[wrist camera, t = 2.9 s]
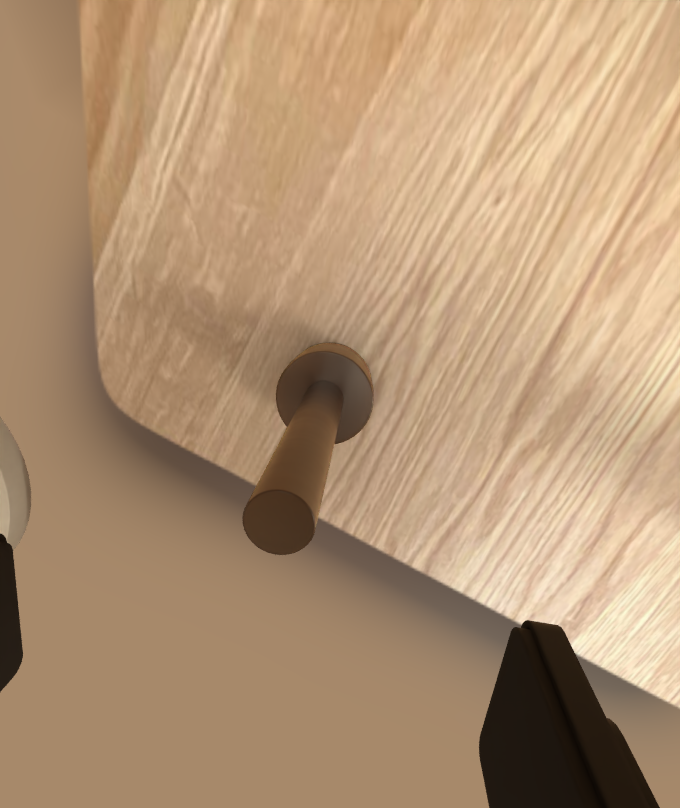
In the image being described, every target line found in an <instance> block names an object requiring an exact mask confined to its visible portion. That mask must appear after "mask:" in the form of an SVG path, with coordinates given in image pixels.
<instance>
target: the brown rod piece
mask: <svg viewBox="0 0 680 808" xmlns="http://www.w3.org/2000/svg"><path fill="white" fill-rule="evenodd" d="M276 404H277V408H278V412H279V414H280V417H281V418H282V420H283V422H284V423H285V425H286V426H287V429H286V431H285V433H284V435H283V437H282V438H281V440H280V442H279V444H278V446H277V448H276V450H275V452H274V454H273V455H272V457H271V459H270V461H269V463H268V465H267V467H266V469H265V471H264V473H263V474H262V476H261V478H260V480H259V482H258V484H257V486H256V488H255V490H254V492H253V493H252V495H251V497H250V499H249V501H248V503H247V505H246V507H245V509H244V512H243V526H244V530H245V532H246V534H247V536H248V538H249V539H250V540H251V541H252V542H253V543H254V544H255V545H256V546H257V547H258V548H260V549H262V550H264V551H266V552H268V553H272V554H278V555H286V554H292V553H295V552H297V551H299V550H301V549H302V548H304V547H305V546H306V545H307V544H308V543H309V542H310V541H311V539H312V538H313V535H314V533H315V529H316V524H317V520H318V515H319V511H320V506H321V502H322V497H323V493H324V488H325V484H326V479H327V475H328V470H329V466H330V461H331V457H332V452H333V448H334V444H338V443H341V442H344V441H346V440H349V439H350V438H352V437H354V436H355V435H356V434H358V433H359V432H360V431H361V430H362V429H363V427H364V426H365V425H366V423H367V421H368V420H369V418H370V415H371V412H372V408H373V385H372V379H371V374H370V371H369V369H368V366H367V364H366V363H365V361H364V360H363V359H362V358H361V356H360V355H359V354H357V353H356V352H355V351H354V350H352V349H351V348H349V347H347V346H344V345H341V344H337V343H321V344H317V345H314V346H312V347H310V348H308V349H306V350H305V351H303V352H302V353H301V354H300V355H299V356H297V357H296V358H295V359H294V360H293V361H292V362H291V363H290V364H289V365H288V366H287V368H286V369H285V370H284V372H283V373H282V375H281V377H280V379H279V381H278V385H277V390H276Z"/></svg>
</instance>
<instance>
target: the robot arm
mask: <svg viewBox="0 0 680 808" xmlns="http://www.w3.org/2000/svg"><path fill="white" fill-rule="evenodd" d="M22 658H23V650H22V640H21V630H20V620H19V610H18V600H17V589H16V580H15V569H14V560H13V550H12V546H11V545H10V544H9V543H7V541H6V538H5V537H4V535H3V534H0V691H1V690H2V689H3V688H4V687H5V686H6V685H7V684H8V683H9V681H10V680H11V679H12V678H13V676H14V675H15V674H16V673H17V671H18V669H19V667H20V664H21V662H22ZM479 754H480V762H481V767H482V771H483V777H484V782H485V787H486V793H487V798H488V803H489V808H660V807H659V806H658V804H657V802H656V800H655V798H654V796H653V794H652V792H651V790H650V788H649V786H648V784H647V782H646V780H645V778H644V776H643V774H642V772H641V770H640V768H639V766H638V764H637V762H636V760H635V758H634V756H633V754H632V752H631V750H630V748H629V746H628V744H627V742H626V740H625V738H624V736H623V735H622V733H621V731H620V730H619V728H618V727H617V725H616V724H615V723H614V722H612V721H611V720H610V719H608V718H606V716H605V714H604V712H603V710H602V708H601V706H600V704H599V702H598V700H597V698H596V696H595V694H594V692H593V690H592V688H591V686H590V684H589V682H588V679H587V677H586V676H585V673H584V671H583V669H582V667H581V665H580V663H579V661H578V659H577V657H576V655H575V653H574V651H573V649H572V647H571V645H570V643H569V641H568V638H567V636H566V634H565V632H564V631H563V629H562V628H561V627H560V626H558V625H553V624H547V623H541V622H535V621H529V620H527V621H525V622H524V623H523V624H522V626H521V628H517V627H515V628H513V629H512V631H511V634H510V637H509V640H508V644H507V647H506V651H505V654H504V657H503V661H502V664H501V668H500V671H499V674H498V677H497V681H496V684H495V688H494V691H493V694H492V697H491V701H490V704H489V708H488V711H487V714H486V718H485V721H484V725H483V728H482V731H481V735H480V741H479Z"/></svg>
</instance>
